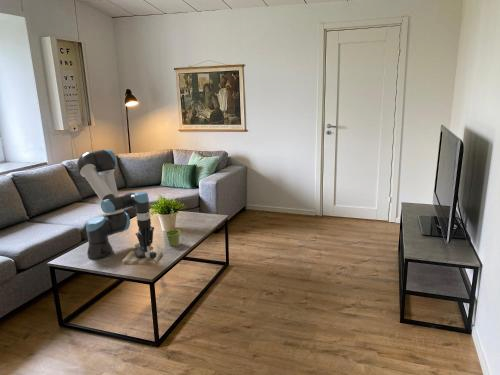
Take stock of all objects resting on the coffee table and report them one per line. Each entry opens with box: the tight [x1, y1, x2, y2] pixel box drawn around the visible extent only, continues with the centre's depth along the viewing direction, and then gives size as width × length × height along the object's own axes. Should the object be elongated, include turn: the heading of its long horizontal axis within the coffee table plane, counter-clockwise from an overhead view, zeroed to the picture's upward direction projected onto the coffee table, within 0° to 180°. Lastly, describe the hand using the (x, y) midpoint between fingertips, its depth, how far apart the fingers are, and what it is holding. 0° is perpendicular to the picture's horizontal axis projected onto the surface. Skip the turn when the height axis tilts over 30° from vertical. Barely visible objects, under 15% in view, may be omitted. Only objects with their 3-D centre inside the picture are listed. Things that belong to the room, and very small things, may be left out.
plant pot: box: [165, 229, 181, 247], centre depth 249 cm, size 9×9×9 cm
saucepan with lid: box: [134, 244, 156, 259], centre depth 227 cm, size 16×8×7 cm, turn 53°
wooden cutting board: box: [121, 250, 163, 265], centre depth 231 cm, size 20×14×2 cm
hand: (147, 256), depth 223 cm, fingers closed
